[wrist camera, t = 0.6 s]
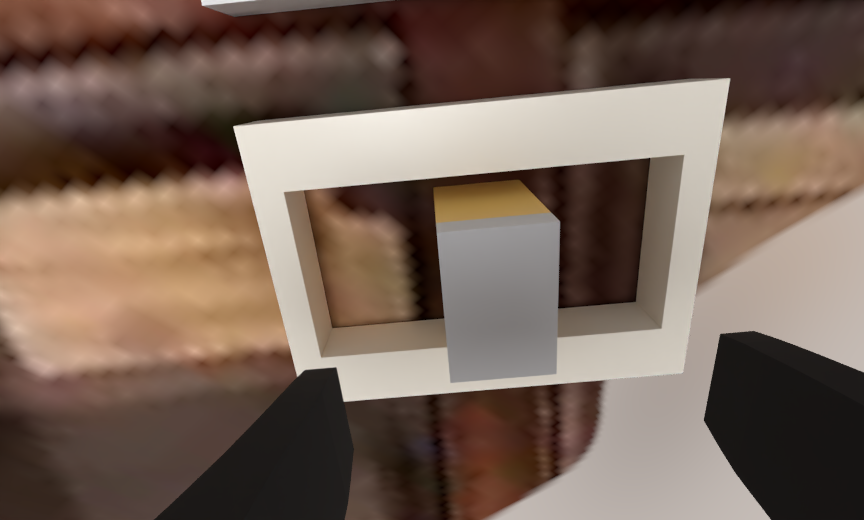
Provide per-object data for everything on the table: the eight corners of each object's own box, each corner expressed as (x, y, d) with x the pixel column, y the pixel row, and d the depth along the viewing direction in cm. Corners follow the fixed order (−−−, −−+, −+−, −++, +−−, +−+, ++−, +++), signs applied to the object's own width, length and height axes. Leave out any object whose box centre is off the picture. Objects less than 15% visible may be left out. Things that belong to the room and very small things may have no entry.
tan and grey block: (518, 179, 15) (559, 221, 10) (520, 293, 17) (556, 374, 12) (432, 187, 15) (436, 232, 11) (443, 300, 17) (450, 382, 12)
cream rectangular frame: (689, 78, 14) (730, 78, 12) (655, 342, 18) (683, 373, 16) (258, 120, 14) (233, 126, 12) (317, 371, 18) (304, 404, 16)
